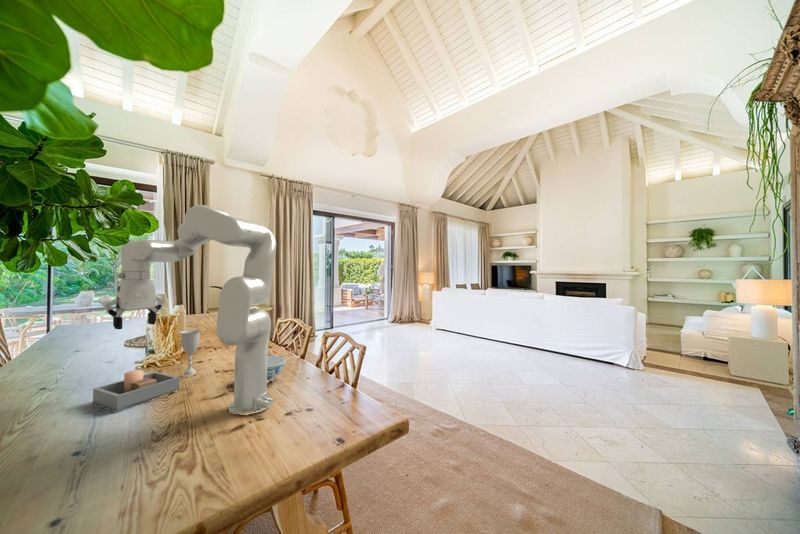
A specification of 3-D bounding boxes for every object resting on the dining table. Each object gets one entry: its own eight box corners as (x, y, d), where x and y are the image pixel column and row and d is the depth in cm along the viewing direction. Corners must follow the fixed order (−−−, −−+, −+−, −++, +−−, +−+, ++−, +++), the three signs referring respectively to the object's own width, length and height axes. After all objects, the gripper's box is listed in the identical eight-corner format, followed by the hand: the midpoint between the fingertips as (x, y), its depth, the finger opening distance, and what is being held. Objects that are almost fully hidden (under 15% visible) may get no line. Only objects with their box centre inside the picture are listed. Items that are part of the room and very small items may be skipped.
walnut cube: (156, 394, 105) (156, 379, 105) (139, 400, 100) (139, 384, 100) (147, 391, 107) (147, 377, 107) (130, 397, 102) (130, 382, 102)
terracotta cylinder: (146, 391, 107) (146, 371, 107) (129, 396, 103) (129, 375, 103) (137, 389, 109) (138, 369, 109) (120, 394, 105) (121, 373, 105)
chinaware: (275, 388, 114) (276, 367, 114) (236, 387, 115) (236, 366, 115) (290, 374, 129) (291, 356, 129) (255, 373, 130) (256, 355, 130)
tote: (179, 391, 110) (179, 377, 110) (116, 412, 94) (117, 396, 94) (155, 384, 116) (155, 371, 116) (92, 403, 99) (93, 388, 99)
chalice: (182, 379, 121) (183, 334, 121) (176, 375, 125) (177, 331, 126) (203, 374, 127) (204, 331, 127) (196, 371, 131) (197, 329, 131)
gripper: (110, 277, 96) (110, 332, 96) (169, 276, 112) (169, 323, 112) (97, 277, 99) (97, 330, 99) (157, 276, 115) (157, 321, 115)
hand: (135, 326), depth 106 cm, fingers open, 9 cm apart
